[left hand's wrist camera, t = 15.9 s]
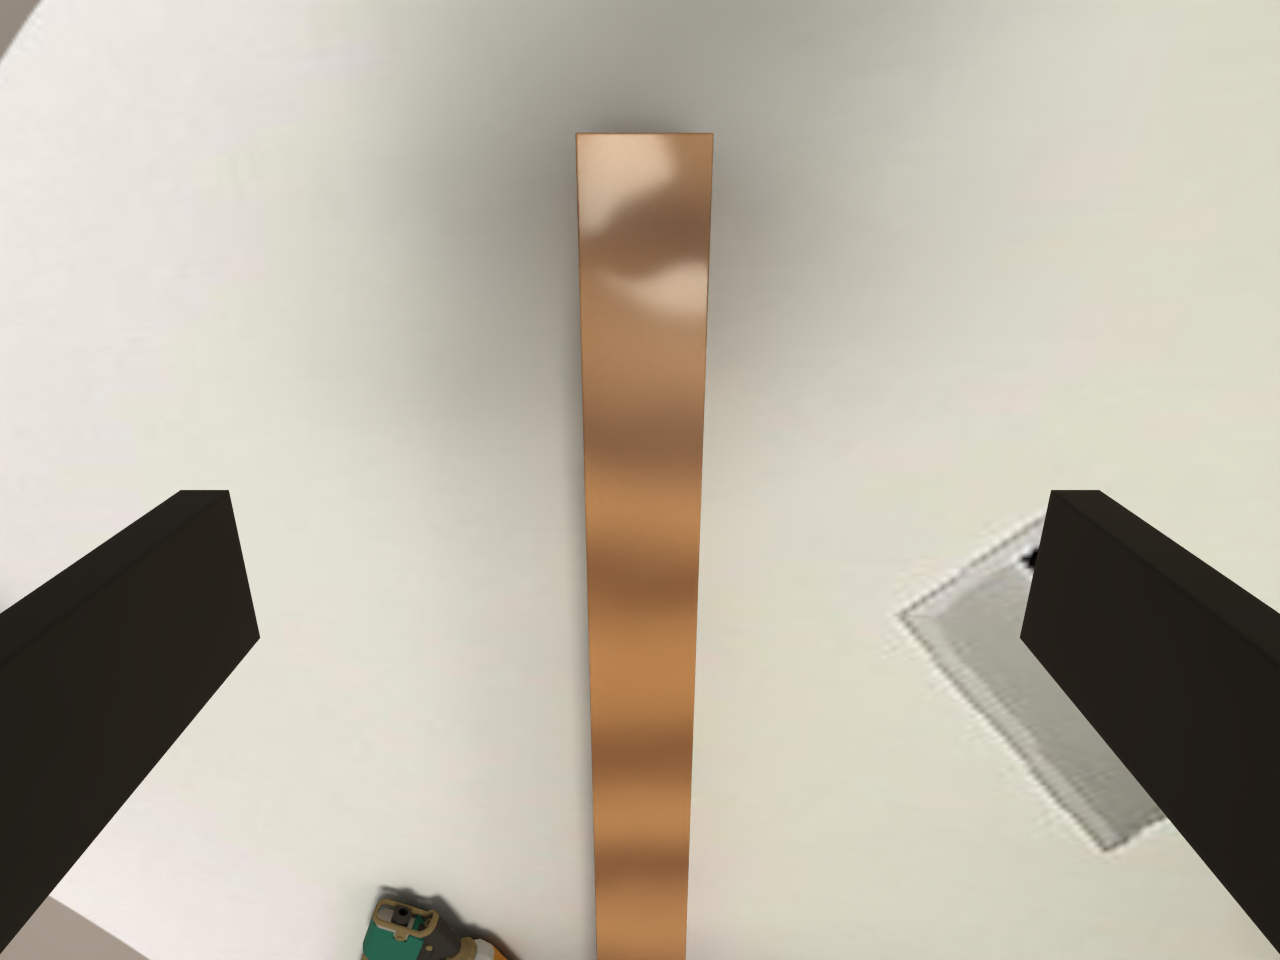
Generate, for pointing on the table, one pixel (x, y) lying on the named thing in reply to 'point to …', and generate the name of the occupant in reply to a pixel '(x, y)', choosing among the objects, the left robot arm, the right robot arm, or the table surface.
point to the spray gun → (419, 937)
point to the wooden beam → (643, 516)
